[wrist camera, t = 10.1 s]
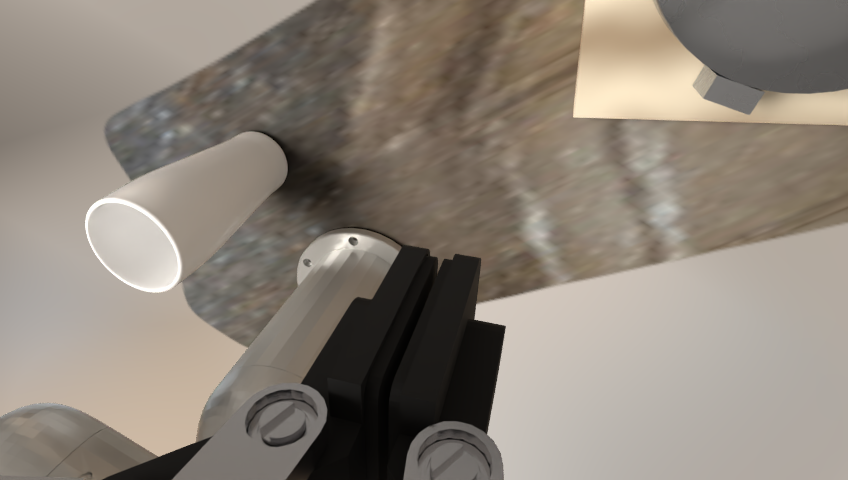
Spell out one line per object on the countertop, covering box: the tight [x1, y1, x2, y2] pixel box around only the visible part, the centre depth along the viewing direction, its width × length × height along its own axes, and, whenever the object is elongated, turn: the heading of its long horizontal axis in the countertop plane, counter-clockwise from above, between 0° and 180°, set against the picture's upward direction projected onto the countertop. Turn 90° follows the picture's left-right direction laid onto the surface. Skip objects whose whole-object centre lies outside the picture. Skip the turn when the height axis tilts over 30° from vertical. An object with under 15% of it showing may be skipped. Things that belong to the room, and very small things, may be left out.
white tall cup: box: [85, 131, 288, 293], centre depth 37 cm, size 7×7×15 cm
